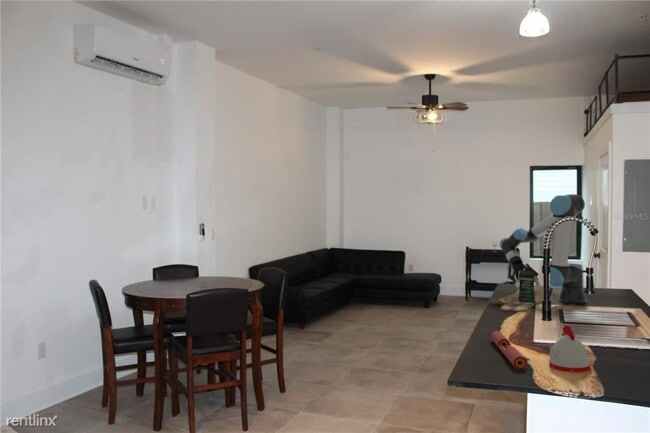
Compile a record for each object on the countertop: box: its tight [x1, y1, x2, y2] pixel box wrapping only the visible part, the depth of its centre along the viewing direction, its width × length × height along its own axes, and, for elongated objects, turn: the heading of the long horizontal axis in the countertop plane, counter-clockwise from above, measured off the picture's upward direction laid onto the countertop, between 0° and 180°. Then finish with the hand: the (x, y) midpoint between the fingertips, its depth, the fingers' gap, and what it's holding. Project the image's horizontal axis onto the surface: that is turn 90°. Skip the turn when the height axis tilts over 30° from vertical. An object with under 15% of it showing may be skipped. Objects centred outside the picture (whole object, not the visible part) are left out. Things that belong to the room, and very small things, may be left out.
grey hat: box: [548, 325, 591, 373], centre depth 208 cm, size 14×14×15 cm
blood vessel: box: [490, 330, 528, 370], centre depth 227 cm, size 42×5×5 cm, turn 174°
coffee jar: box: [517, 271, 536, 303], centre depth 342 cm, size 10×8×19 cm
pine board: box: [500, 301, 535, 312], centre depth 324 cm, size 14×20×2 cm
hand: (528, 286), depth 339 cm, fingers open, 13 cm apart
